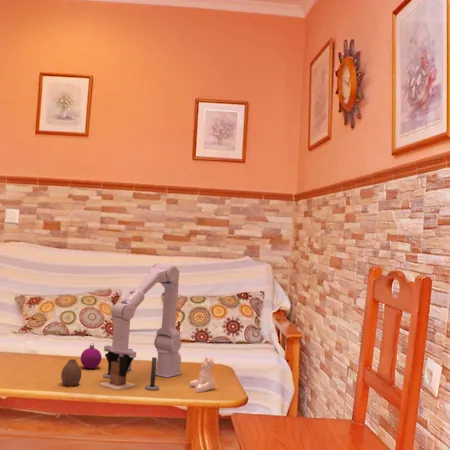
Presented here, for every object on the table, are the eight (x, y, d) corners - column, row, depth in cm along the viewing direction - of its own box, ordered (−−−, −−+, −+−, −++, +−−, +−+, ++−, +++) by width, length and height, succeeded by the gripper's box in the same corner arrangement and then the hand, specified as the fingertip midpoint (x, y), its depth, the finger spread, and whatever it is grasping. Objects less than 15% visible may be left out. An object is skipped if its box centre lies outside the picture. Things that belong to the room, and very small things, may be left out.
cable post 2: (151, 386, 205) (154, 355, 205) (162, 389, 202) (164, 358, 202) (142, 388, 201) (144, 357, 201) (152, 391, 198) (154, 360, 198)
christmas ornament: (79, 370, 221) (81, 344, 221) (79, 365, 229) (81, 341, 229) (100, 370, 223) (102, 345, 223) (100, 366, 231) (102, 341, 231)
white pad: (117, 380, 209) (117, 379, 209) (135, 385, 203) (135, 384, 203) (99, 384, 201) (99, 383, 201) (116, 390, 196) (116, 388, 196)
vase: (62, 387, 194) (64, 362, 195) (58, 382, 200) (60, 358, 201) (82, 386, 198) (84, 361, 198) (78, 381, 204) (80, 357, 204)
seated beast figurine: (188, 385, 209) (190, 353, 209) (210, 385, 212) (212, 353, 212) (196, 392, 200) (198, 358, 200) (218, 392, 203) (221, 358, 203)
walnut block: (117, 381, 205) (119, 359, 206) (125, 384, 203) (127, 361, 203) (109, 383, 202) (111, 361, 202) (117, 386, 200) (119, 363, 200)
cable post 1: (110, 374, 218) (112, 346, 218) (119, 377, 215) (121, 348, 215) (100, 376, 213) (102, 347, 214) (109, 379, 211) (111, 349, 211)
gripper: (98, 334, 204) (95, 372, 203) (127, 340, 195) (124, 380, 195) (113, 332, 210) (110, 369, 209) (141, 338, 201) (138, 377, 201)
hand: (118, 374), depth 202 cm, fingers open, 5 cm apart
